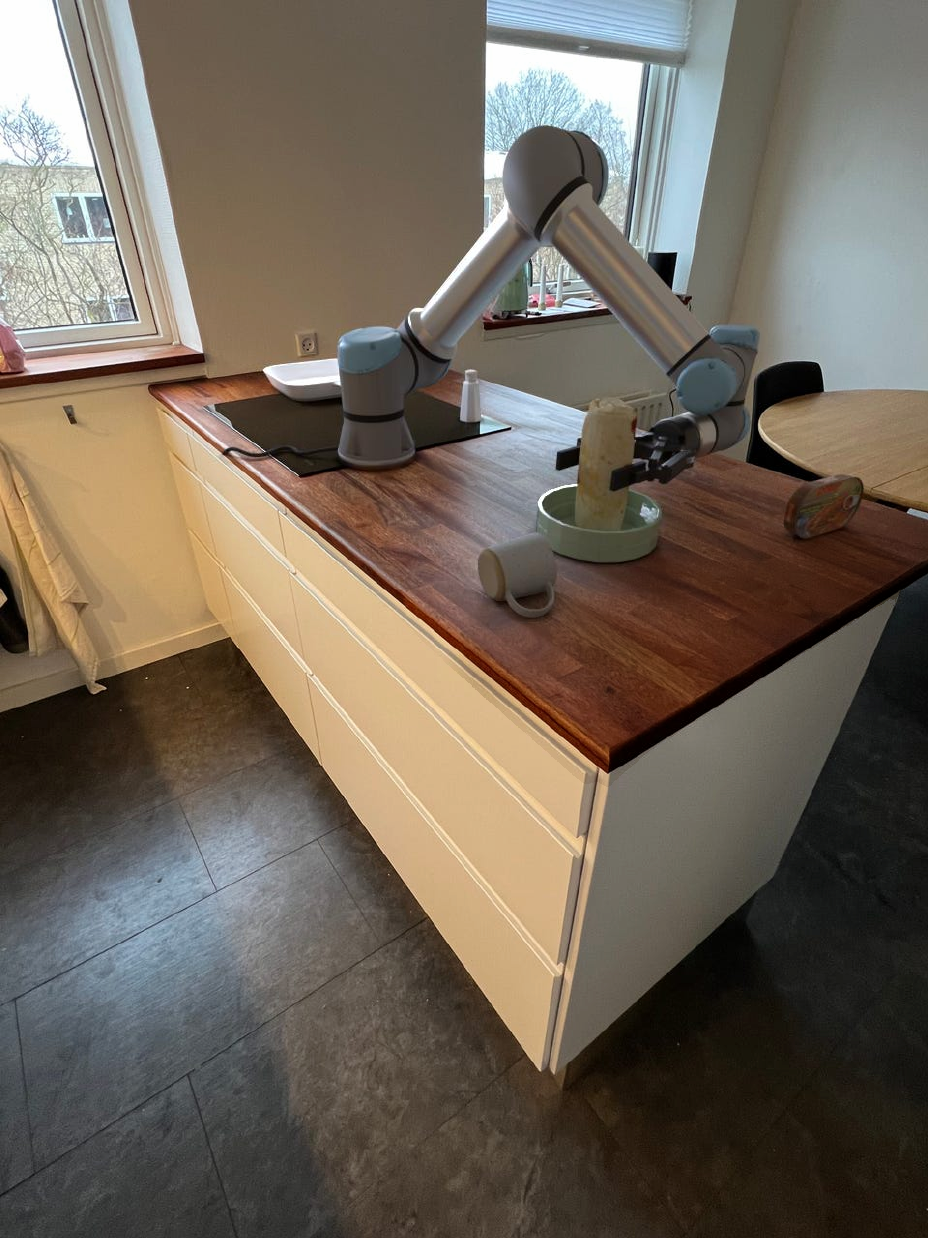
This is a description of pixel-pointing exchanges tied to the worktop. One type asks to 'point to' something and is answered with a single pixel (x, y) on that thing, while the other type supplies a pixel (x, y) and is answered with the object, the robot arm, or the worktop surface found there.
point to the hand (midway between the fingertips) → (584, 470)
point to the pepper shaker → (470, 398)
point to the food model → (604, 464)
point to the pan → (306, 379)
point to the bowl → (593, 544)
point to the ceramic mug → (519, 571)
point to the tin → (823, 505)
